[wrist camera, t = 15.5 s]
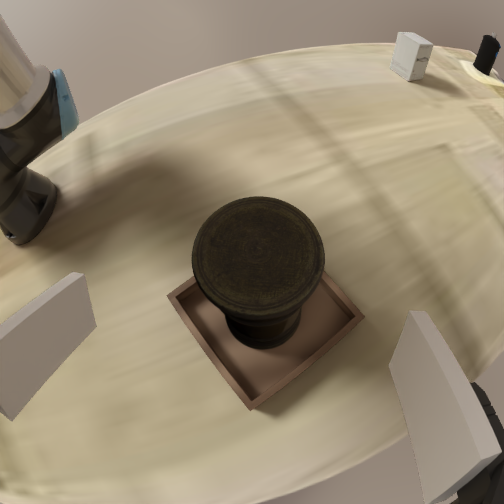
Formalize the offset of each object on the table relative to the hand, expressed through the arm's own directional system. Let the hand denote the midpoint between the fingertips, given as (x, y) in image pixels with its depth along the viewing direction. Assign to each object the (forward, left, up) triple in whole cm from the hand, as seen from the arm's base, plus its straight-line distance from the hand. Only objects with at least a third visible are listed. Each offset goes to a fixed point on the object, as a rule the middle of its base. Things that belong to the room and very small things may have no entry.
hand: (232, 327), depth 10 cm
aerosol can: (-18, +128, -24) cm, 132 cm away
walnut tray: (-4, +4, -24) cm, 25 cm away
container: (-4, +4, -24) cm, 24 cm away
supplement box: (-28, +73, -24) cm, 82 cm away
